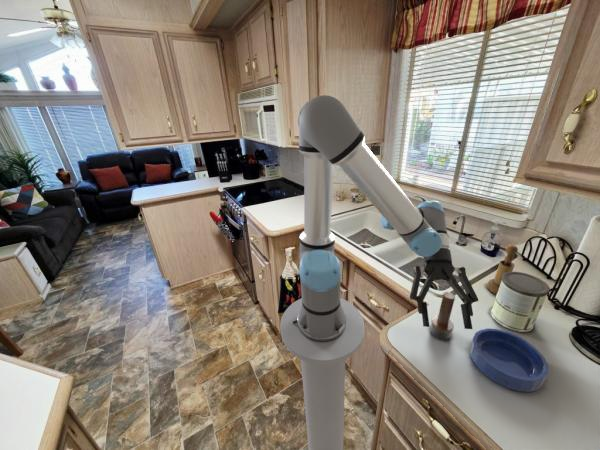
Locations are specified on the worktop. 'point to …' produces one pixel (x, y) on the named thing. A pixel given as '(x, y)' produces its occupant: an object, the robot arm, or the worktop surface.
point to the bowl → (508, 360)
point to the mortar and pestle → (503, 269)
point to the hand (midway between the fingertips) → (447, 327)
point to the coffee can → (519, 301)
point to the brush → (443, 318)
